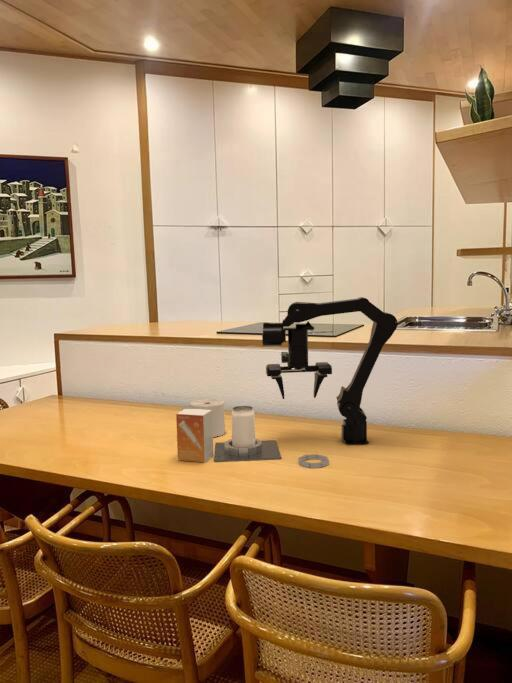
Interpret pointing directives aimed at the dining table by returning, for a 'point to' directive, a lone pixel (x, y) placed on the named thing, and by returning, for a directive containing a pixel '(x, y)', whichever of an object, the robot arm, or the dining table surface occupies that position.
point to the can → (243, 426)
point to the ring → (313, 465)
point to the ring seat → (246, 451)
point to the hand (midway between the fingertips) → (299, 398)
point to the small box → (194, 435)
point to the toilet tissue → (217, 413)
